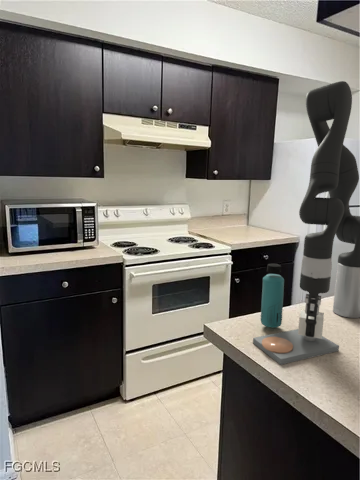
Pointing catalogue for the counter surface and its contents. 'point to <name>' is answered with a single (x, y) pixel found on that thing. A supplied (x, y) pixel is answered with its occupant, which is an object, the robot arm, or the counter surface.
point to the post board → (298, 346)
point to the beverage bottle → (272, 297)
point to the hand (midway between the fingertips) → (310, 330)
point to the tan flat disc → (277, 344)
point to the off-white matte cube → (317, 327)
